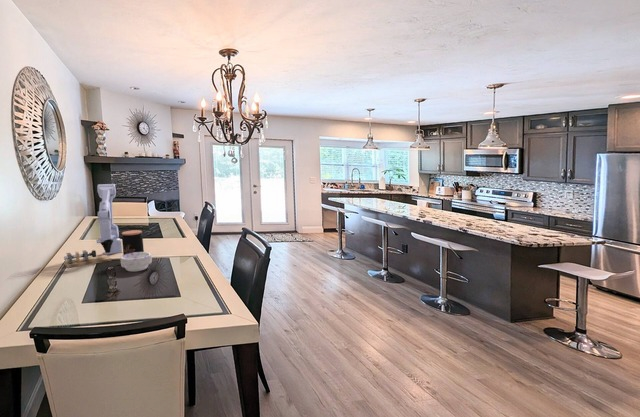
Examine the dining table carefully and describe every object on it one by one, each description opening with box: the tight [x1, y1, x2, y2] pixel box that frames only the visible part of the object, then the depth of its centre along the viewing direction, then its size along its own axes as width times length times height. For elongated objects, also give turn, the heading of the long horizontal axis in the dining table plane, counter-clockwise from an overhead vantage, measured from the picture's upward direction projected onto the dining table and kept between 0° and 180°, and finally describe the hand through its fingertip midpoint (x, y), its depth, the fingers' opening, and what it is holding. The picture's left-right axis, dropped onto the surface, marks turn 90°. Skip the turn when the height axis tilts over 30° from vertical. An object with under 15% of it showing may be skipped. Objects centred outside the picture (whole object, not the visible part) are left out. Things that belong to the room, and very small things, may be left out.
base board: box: [63, 254, 112, 269], centre depth 230 cm, size 22×12×2 cm, turn 130°
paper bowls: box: [119, 251, 153, 273], centre depth 214 cm, size 15×15×8 cm
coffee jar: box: [121, 229, 145, 256], centre depth 227 cm, size 11×11×18 cm
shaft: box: [63, 249, 97, 261], centre depth 228 cm, size 16×4×4 cm, turn 130°
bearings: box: [66, 250, 89, 264], centre depth 227 cm, size 10×6×5 cm, turn 130°
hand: (107, 252), depth 237 cm, fingers closed
